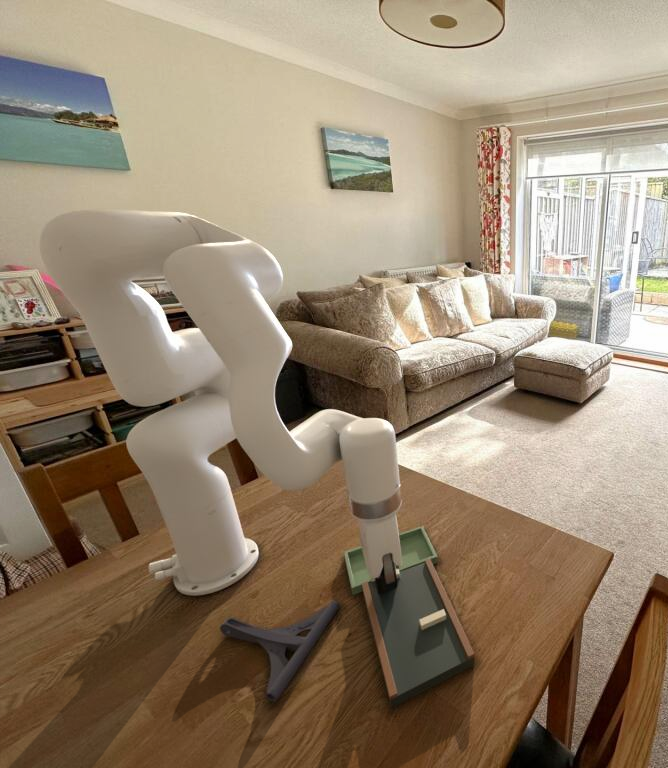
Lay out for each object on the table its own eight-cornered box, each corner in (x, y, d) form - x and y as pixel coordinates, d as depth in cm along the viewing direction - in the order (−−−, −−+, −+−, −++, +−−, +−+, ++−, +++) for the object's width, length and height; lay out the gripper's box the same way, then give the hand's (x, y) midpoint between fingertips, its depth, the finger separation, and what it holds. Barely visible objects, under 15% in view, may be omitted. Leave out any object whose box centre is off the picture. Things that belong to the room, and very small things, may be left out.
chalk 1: (376, 586, 68) (376, 582, 68) (375, 581, 69) (374, 576, 69) (400, 577, 70) (399, 573, 70) (398, 572, 71) (398, 568, 71)
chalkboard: (391, 708, 53) (389, 697, 52) (363, 593, 69) (361, 583, 68) (474, 665, 58) (474, 653, 58) (430, 567, 75) (429, 557, 74)
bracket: (261, 592, 69) (257, 580, 68) (340, 608, 66) (338, 596, 65) (182, 680, 56) (176, 667, 55) (278, 703, 53) (273, 690, 52)
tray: (352, 595, 69) (351, 588, 68) (344, 558, 76) (343, 551, 76) (437, 562, 76) (437, 556, 75) (422, 531, 83) (422, 525, 83)
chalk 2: (421, 630, 61) (421, 626, 61) (419, 624, 62) (418, 619, 62) (446, 619, 63) (446, 614, 63) (443, 613, 64) (443, 608, 64)
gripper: (342, 478, 65) (356, 564, 72) (357, 538, 53) (372, 634, 60) (389, 466, 69) (398, 550, 76) (413, 520, 57) (421, 613, 63)
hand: (386, 587), depth 68 cm, fingers closed
